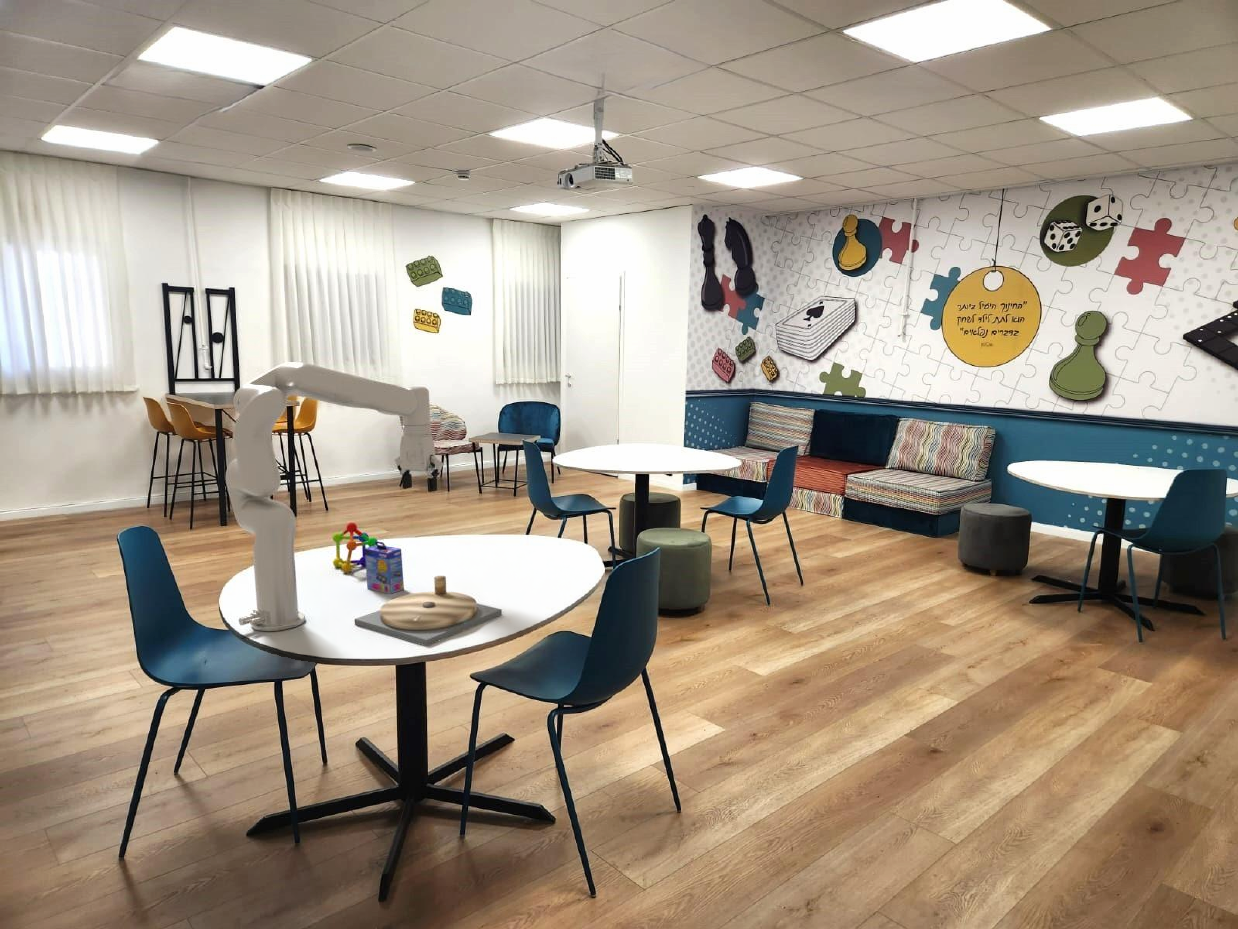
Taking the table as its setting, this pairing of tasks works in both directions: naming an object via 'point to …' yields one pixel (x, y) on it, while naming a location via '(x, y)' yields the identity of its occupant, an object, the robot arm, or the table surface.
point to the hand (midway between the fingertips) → (419, 489)
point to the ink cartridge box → (384, 568)
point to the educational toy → (351, 547)
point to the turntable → (429, 609)
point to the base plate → (430, 635)
